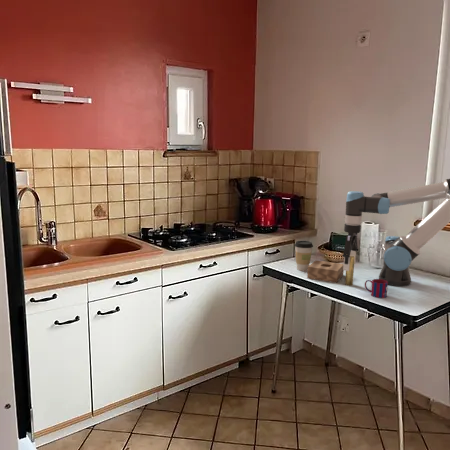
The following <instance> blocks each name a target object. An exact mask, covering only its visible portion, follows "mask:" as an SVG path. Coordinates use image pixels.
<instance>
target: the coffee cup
mask: <svg viewBox="0 0 450 450" xmlns="http://www.w3.org/2000/svg"><path fill="white" fill-rule="evenodd" d="M313 247H314V245H313V242H312V241H309V240H297V241H295V243H294V248H295V261H296V262H295V263H296V270H297V271H300V272H306V271H307V272H308V266H309V265H311V258H312V251H313Z"/></svg>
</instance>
